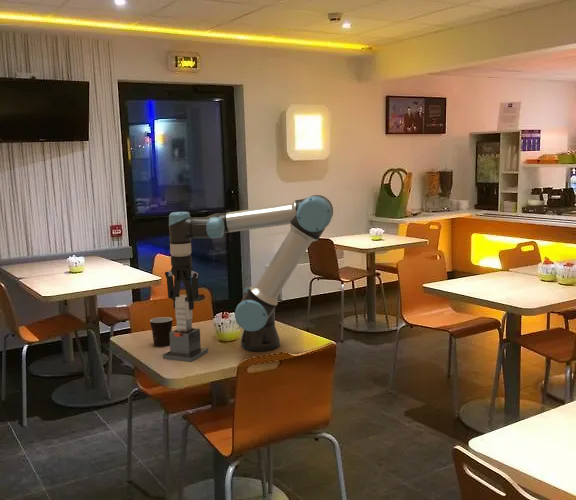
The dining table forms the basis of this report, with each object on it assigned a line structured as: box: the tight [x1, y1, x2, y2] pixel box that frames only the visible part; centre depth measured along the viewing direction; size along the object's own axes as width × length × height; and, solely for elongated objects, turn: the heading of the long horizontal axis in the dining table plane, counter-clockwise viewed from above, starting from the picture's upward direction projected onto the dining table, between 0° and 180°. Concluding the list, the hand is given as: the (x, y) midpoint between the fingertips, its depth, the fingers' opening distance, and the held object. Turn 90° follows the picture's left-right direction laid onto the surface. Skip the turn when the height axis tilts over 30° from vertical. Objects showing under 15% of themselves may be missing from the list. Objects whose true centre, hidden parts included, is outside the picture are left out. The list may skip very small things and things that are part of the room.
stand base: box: [162, 327, 209, 363], centre depth 228 cm, size 12×12×10 cm
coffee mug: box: [149, 316, 173, 348], centre depth 244 cm, size 12×9×10 cm
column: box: [175, 294, 193, 333], centre depth 226 cm, size 4×4×18 cm
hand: (184, 317), depth 227 cm, fingers closed on column, 4 cm apart
